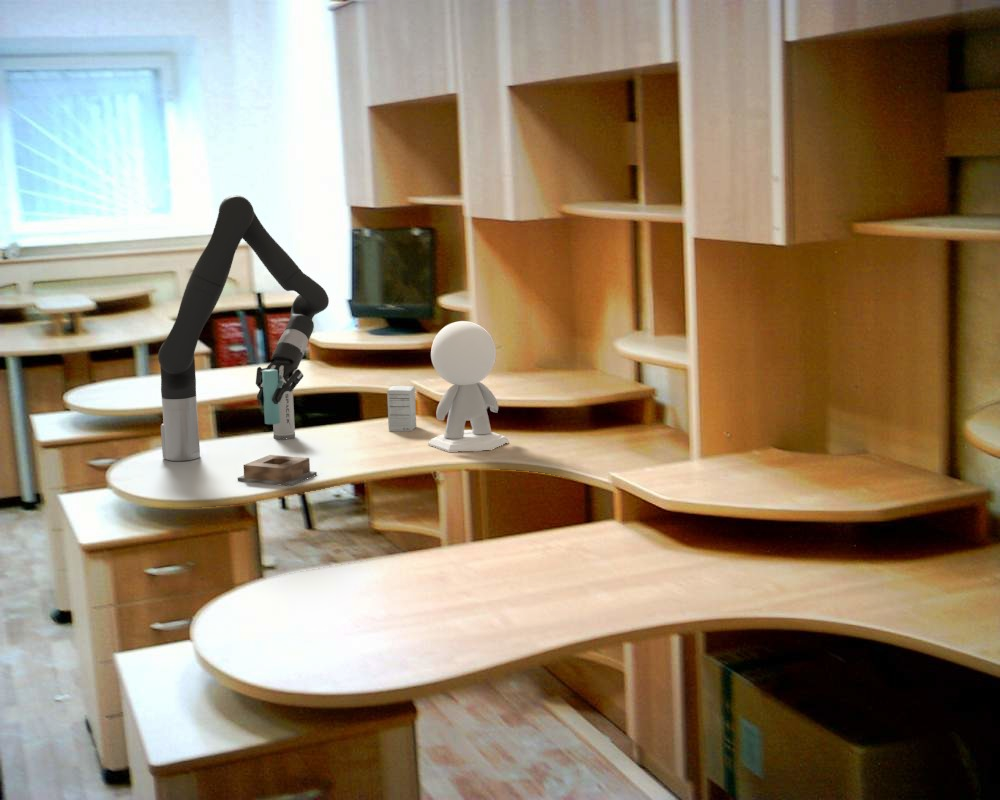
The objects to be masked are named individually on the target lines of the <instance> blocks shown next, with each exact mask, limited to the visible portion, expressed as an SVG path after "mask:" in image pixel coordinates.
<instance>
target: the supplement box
mask: <svg viewBox="0 0 1000 800" xmlns="http://www.w3.org/2000/svg"><path fill="white" fill-rule="evenodd" d="M386 394H387V395H386V397H387V415H388V416H387V420H388V431H389V432H413V431H414V429H415V428H417V410H416V409H417V407H416V404H417V403H416V386H415V385H414V386H413V385H392V386H390V387H389V389H387V390H386Z"/></svg>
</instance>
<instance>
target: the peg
mask: <svg viewBox="0 0 1000 800" xmlns="http://www.w3.org/2000/svg"><path fill="white" fill-rule="evenodd" d="M262 377H263V396H264V402H263V411H264V412H263V413H264V424H266V425H273V424H278V423H280V409H279V402H278V404H274V402H273V401H272V398H273V396H274V393H275V391H276V389H277V388H278V370H274V369H270V370H263V371H262Z"/></svg>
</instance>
